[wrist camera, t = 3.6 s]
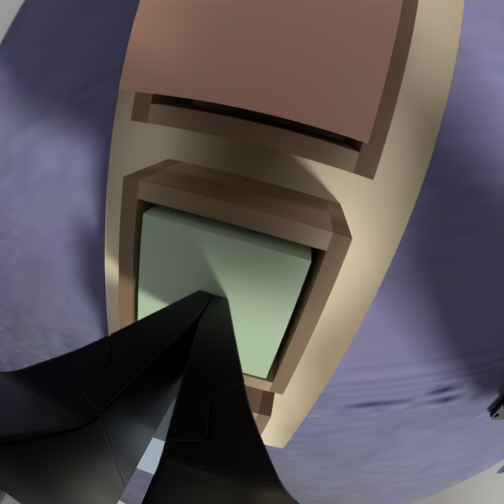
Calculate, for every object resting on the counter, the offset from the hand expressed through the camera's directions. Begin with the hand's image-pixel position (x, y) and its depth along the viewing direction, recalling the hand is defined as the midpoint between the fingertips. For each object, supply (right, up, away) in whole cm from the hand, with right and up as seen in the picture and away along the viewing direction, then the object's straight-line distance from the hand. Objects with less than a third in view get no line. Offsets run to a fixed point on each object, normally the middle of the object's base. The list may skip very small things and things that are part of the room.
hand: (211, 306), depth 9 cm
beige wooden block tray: (+1, +2, +5) cm, 5 cm away
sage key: (0, +1, +3) cm, 3 cm away
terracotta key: (+2, +7, -2) cm, 8 cm away
